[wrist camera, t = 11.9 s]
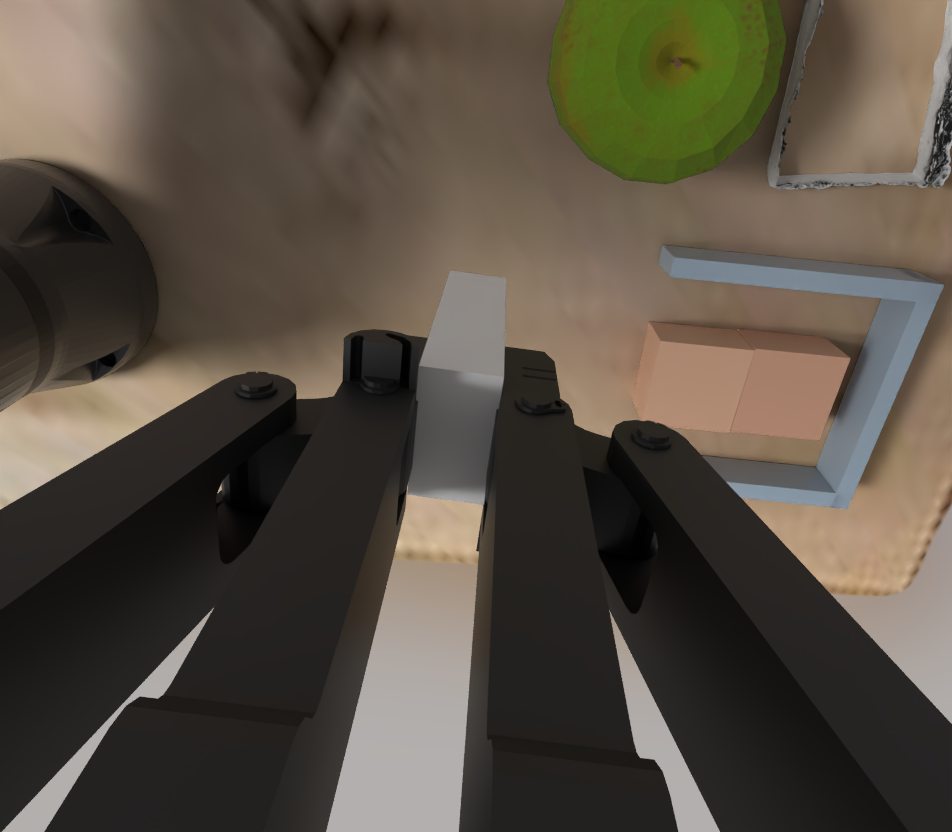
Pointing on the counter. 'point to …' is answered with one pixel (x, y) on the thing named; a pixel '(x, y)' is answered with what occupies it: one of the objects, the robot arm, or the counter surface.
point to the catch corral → (870, 382)
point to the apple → (664, 81)
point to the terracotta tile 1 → (691, 376)
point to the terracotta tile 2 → (789, 385)
